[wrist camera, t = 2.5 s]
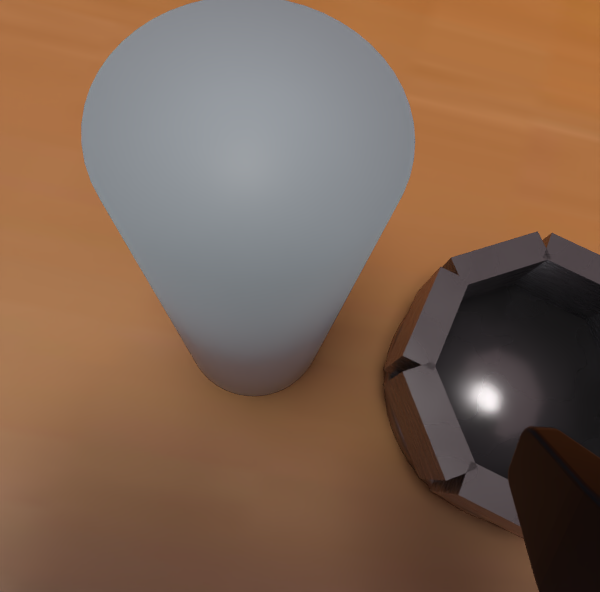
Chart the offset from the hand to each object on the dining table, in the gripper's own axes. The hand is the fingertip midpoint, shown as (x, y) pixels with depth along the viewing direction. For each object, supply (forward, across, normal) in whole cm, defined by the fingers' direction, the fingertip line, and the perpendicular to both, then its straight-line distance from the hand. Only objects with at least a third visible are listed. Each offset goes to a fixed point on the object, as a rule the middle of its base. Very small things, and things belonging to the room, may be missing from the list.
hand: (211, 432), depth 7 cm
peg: (+11, 0, +5) cm, 12 cm away
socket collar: (+9, -10, +6) cm, 15 cm away
